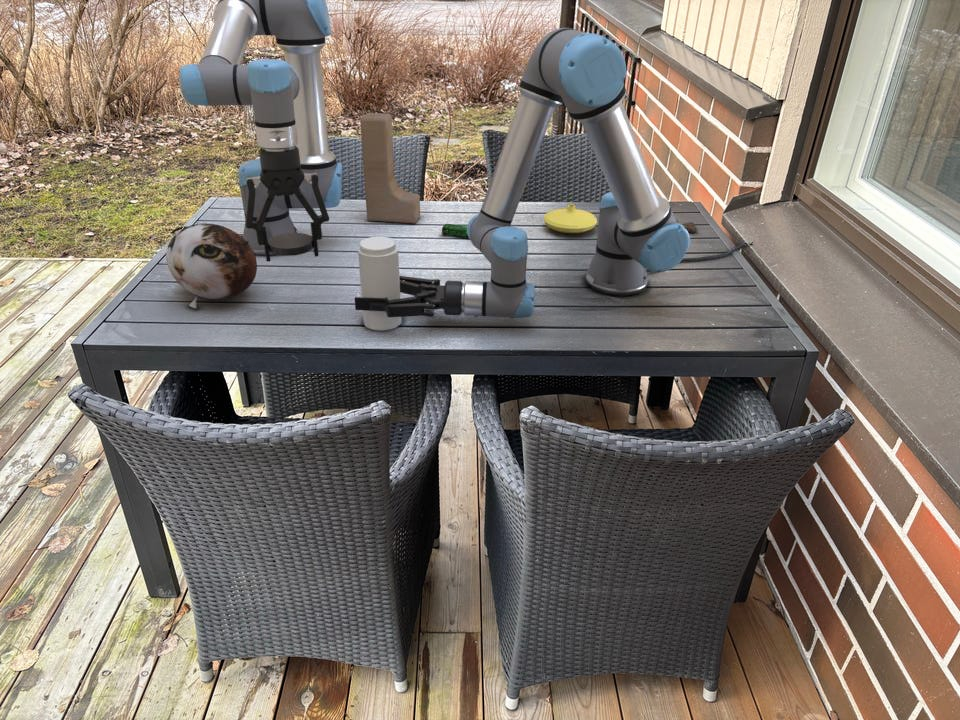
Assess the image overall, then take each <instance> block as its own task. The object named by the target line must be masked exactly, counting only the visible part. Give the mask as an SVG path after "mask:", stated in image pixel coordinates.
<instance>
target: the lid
mask: <svg viewBox="0 0 960 720" xmlns="http://www.w3.org/2000/svg"><path fill="white" fill-rule="evenodd" d="M268 247H269V251H270V252H271V253H273V254H276V256H283V257H290V256H293V257H294V256H299V255H304V254H307V253H309V252H311V251H312V250H313V247H314V244H313V238H312V235H310V234H307V233H303V232H297V233H285V234H280V235H276V236H274V237H272V238H270V239H269V240H268Z"/></svg>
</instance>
